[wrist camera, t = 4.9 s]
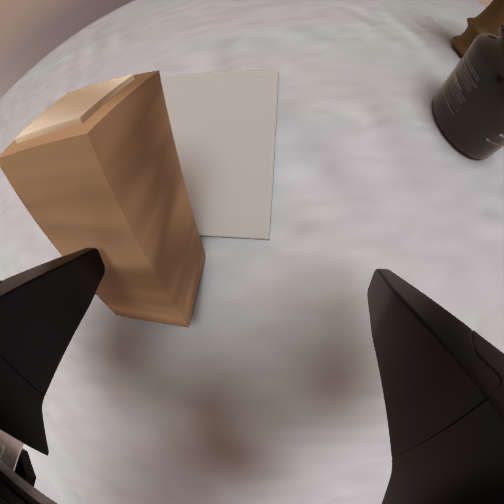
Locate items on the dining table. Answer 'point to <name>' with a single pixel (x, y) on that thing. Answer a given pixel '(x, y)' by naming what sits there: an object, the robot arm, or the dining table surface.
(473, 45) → the supplement bottle
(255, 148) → the felt pad
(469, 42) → the kendama
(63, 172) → the walnut block
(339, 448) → the dining table surface
